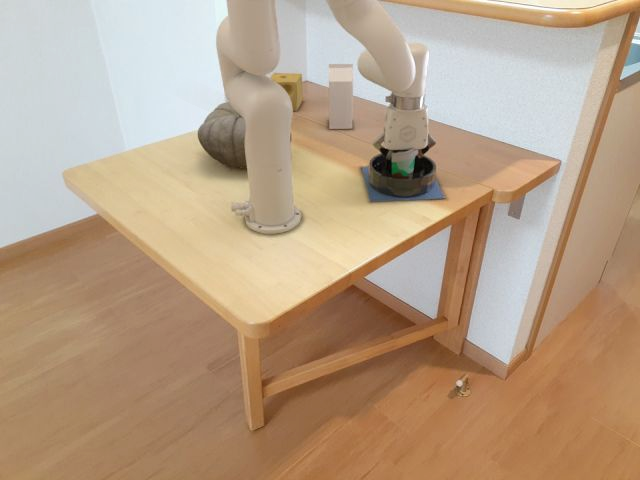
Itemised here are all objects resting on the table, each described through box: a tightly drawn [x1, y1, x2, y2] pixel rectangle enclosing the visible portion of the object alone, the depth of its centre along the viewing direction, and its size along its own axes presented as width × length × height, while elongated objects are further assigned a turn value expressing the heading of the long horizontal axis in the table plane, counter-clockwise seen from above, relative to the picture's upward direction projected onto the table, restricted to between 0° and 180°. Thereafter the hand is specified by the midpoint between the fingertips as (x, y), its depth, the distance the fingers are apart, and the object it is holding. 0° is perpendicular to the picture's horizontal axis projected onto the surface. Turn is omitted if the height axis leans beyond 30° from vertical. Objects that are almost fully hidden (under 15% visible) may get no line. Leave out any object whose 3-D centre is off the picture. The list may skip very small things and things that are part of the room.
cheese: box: [269, 72, 304, 112], centre depth 174 cm, size 10×11×10 cm
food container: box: [392, 148, 418, 179], centre depth 127 cm, size 12×6×10 cm, turn 170°
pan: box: [368, 152, 437, 198], centre depth 129 cm, size 16×16×5 cm
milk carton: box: [328, 63, 354, 130], centre depth 156 cm, size 7×7×19 cm
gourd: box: [197, 101, 292, 170], centre depth 138 cm, size 25×25×17 cm
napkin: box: [360, 166, 446, 203], centre depth 130 cm, size 18×18×1 cm
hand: (402, 170), depth 128 cm, fingers closed on food container, 5 cm apart
